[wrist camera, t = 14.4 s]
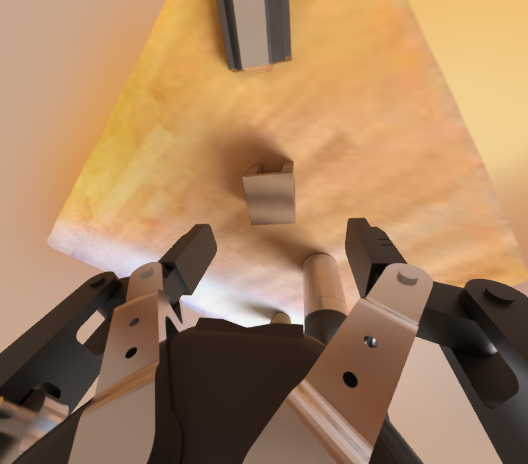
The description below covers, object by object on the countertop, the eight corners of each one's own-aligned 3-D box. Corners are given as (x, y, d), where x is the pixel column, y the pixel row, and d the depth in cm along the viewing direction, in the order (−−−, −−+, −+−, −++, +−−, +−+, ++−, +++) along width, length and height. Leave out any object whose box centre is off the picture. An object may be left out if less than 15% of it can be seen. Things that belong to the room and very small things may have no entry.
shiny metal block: (273, 70, 31) (269, 64, 27) (249, 74, 32) (242, 69, 28) (265, -36, 25) (259, -65, 21) (237, -27, 26) (225, -54, 22)
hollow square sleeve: (295, 205, 44) (294, 223, 37) (258, 207, 46) (251, 225, 39) (293, 161, 39) (292, 172, 32) (251, 166, 41) (242, 177, 34)
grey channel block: (291, 60, 31) (291, 55, 28) (234, 72, 33) (228, 69, 30) (288, -25, 26) (287, -40, 23) (221, -5, 28) (213, -16, 26)
